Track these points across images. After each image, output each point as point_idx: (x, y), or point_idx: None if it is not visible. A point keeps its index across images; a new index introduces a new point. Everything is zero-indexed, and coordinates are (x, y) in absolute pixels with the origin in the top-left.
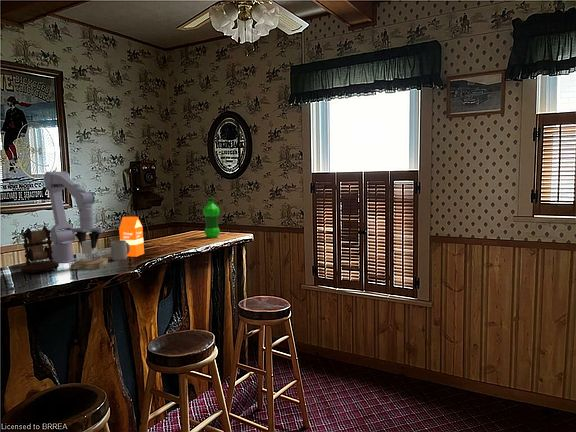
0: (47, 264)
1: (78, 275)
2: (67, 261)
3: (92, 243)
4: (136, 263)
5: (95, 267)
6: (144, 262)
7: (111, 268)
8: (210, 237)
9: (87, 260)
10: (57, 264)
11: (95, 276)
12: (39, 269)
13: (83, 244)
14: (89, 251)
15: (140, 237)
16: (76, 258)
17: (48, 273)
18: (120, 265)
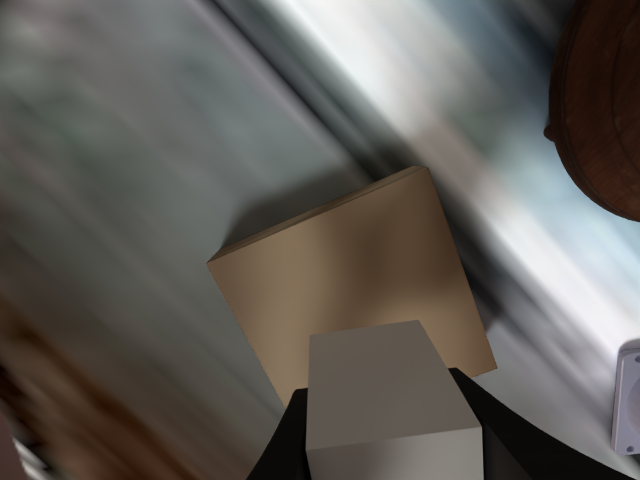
0: (637, 37)
1: (213, 19)
2: (631, 364)
3: (282, 432)
4: (86, 433)
5: (242, 241)
6: (56, 464)
7: (139, 280)
8: None
9: None
10: (573, 144)
11: (37, 23)
12: None
13: (434, 395)
14: (334, 345)
15: None
16: (621, 450)
17: (540, 20)
18: (150, 366)
